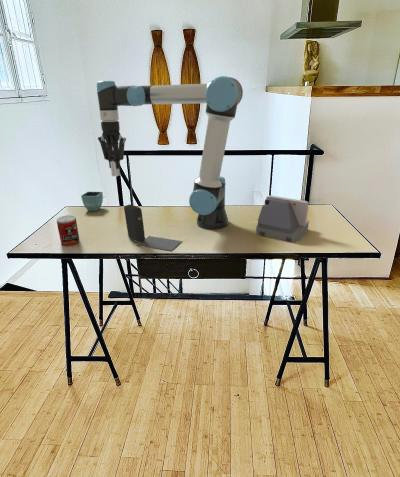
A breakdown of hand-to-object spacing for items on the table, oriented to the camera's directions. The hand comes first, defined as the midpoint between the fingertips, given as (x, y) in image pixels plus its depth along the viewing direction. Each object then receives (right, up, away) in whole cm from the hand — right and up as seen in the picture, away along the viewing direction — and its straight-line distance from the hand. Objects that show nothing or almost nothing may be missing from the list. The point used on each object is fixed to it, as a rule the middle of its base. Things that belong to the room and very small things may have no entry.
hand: (115, 175), depth 156 cm
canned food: (-18, -30, -7) cm, 36 cm away
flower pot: (-20, -13, +33) cm, 41 cm away
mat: (+21, -31, -10) cm, 38 cm away
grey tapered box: (+75, -26, +1) cm, 80 cm away
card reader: (+11, -29, -6) cm, 31 cm away
